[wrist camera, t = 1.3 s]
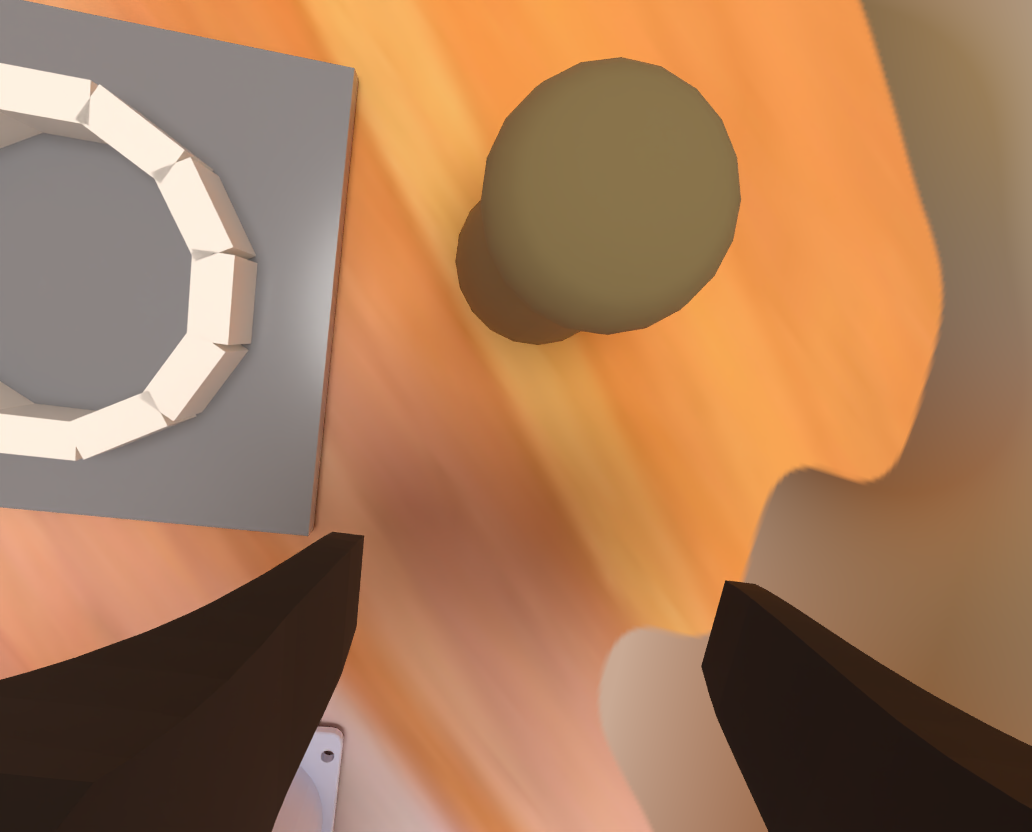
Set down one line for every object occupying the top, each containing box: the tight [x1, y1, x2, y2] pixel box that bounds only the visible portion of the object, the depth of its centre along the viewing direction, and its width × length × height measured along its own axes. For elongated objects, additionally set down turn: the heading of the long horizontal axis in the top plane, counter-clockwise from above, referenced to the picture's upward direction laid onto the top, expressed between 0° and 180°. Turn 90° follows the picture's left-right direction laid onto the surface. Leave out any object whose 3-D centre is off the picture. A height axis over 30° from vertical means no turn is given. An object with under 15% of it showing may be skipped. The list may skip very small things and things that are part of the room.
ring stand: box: [0, 0, 358, 536], centre depth 18 cm, size 16×16×3 cm
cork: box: [456, 57, 741, 345], centre depth 15 cm, size 6×6×11 cm
